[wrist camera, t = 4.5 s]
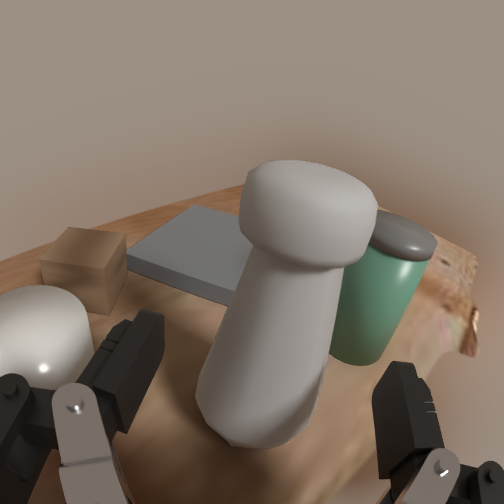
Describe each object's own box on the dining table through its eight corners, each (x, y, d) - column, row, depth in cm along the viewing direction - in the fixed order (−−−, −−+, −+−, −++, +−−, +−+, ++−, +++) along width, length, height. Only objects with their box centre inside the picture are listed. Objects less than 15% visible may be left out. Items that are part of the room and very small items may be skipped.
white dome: (-22, 379, 13) (-48, 331, 11) (45, 320, 19) (33, 272, 17) (52, 447, 11) (22, 404, 9) (122, 364, 17) (114, 315, 15)
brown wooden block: (49, 306, 20) (39, 259, 18) (73, 269, 24) (68, 227, 22) (109, 317, 20) (103, 268, 19) (127, 277, 25) (125, 233, 23)
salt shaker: (178, 443, 13) (185, 168, 7) (213, 366, 18) (245, 139, 12) (294, 475, 13) (432, 230, 6) (308, 392, 18) (391, 174, 11)
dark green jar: (313, 354, 20) (358, 230, 16) (323, 311, 25) (358, 202, 21) (383, 374, 19) (445, 257, 15) (383, 328, 24) (428, 225, 20)
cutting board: (124, 268, 26) (123, 252, 25) (193, 216, 37) (194, 204, 36) (299, 329, 23) (304, 313, 22) (321, 253, 34) (325, 240, 33)
